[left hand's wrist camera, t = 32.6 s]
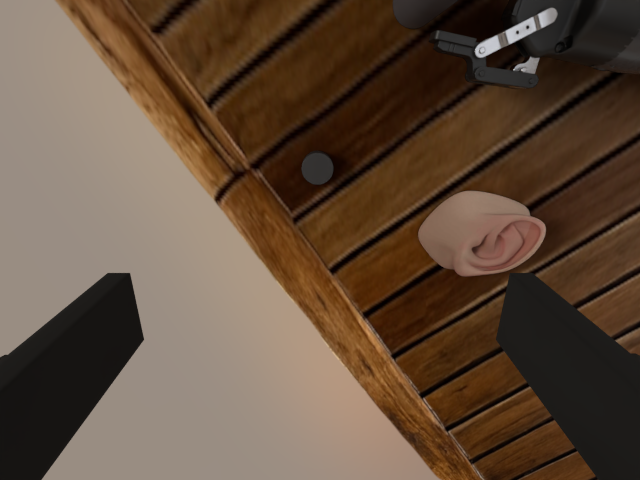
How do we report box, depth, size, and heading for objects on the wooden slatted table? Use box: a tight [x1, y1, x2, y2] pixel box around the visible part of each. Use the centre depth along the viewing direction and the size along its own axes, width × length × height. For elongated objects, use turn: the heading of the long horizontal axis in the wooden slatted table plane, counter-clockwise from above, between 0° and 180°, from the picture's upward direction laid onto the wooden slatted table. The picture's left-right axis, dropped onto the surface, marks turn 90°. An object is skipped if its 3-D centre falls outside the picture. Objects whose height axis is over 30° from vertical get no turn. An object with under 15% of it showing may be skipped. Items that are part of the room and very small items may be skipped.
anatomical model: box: [418, 191, 546, 276], centre depth 45 cm, size 13×4×12 cm
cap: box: [302, 151, 333, 185], centre depth 43 cm, size 4×4×2 cm
